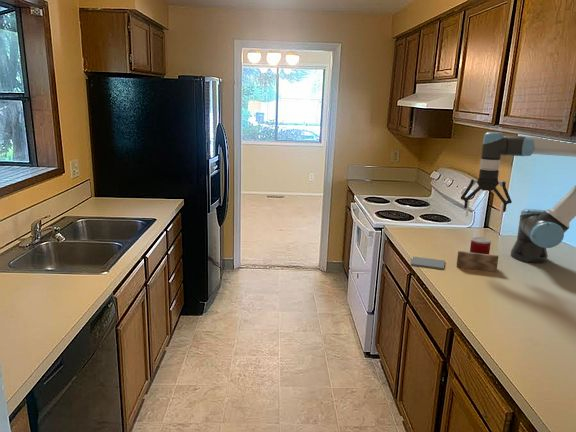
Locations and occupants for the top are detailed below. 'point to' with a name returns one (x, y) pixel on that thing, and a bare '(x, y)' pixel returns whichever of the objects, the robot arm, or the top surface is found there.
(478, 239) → the canned food
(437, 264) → the slate mat
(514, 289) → the top surface
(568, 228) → the robot arm
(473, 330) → the top surface
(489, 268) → the walnut screen
